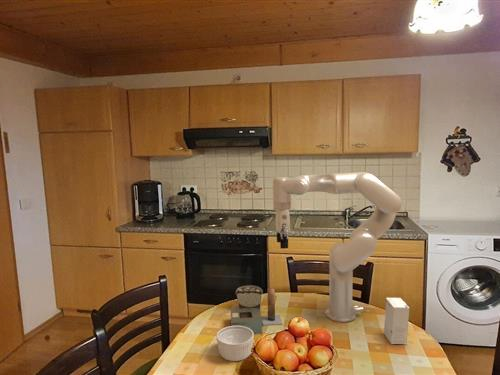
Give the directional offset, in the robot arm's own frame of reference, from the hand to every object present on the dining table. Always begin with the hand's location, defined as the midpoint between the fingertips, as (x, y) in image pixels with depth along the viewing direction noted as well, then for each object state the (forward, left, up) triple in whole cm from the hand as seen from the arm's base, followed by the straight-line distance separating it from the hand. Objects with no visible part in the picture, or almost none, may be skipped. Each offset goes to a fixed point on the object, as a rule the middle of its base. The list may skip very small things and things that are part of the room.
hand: (282, 245), depth 154 cm
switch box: (+17, +11, -30) cm, 36 cm away
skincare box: (-38, +27, -31) cm, 56 cm away
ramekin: (+22, +29, -31) cm, 48 cm away
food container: (+14, -5, -31) cm, 34 cm away
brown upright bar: (+6, +7, -30) cm, 31 cm away
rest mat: (+6, +7, -30) cm, 32 cm away
